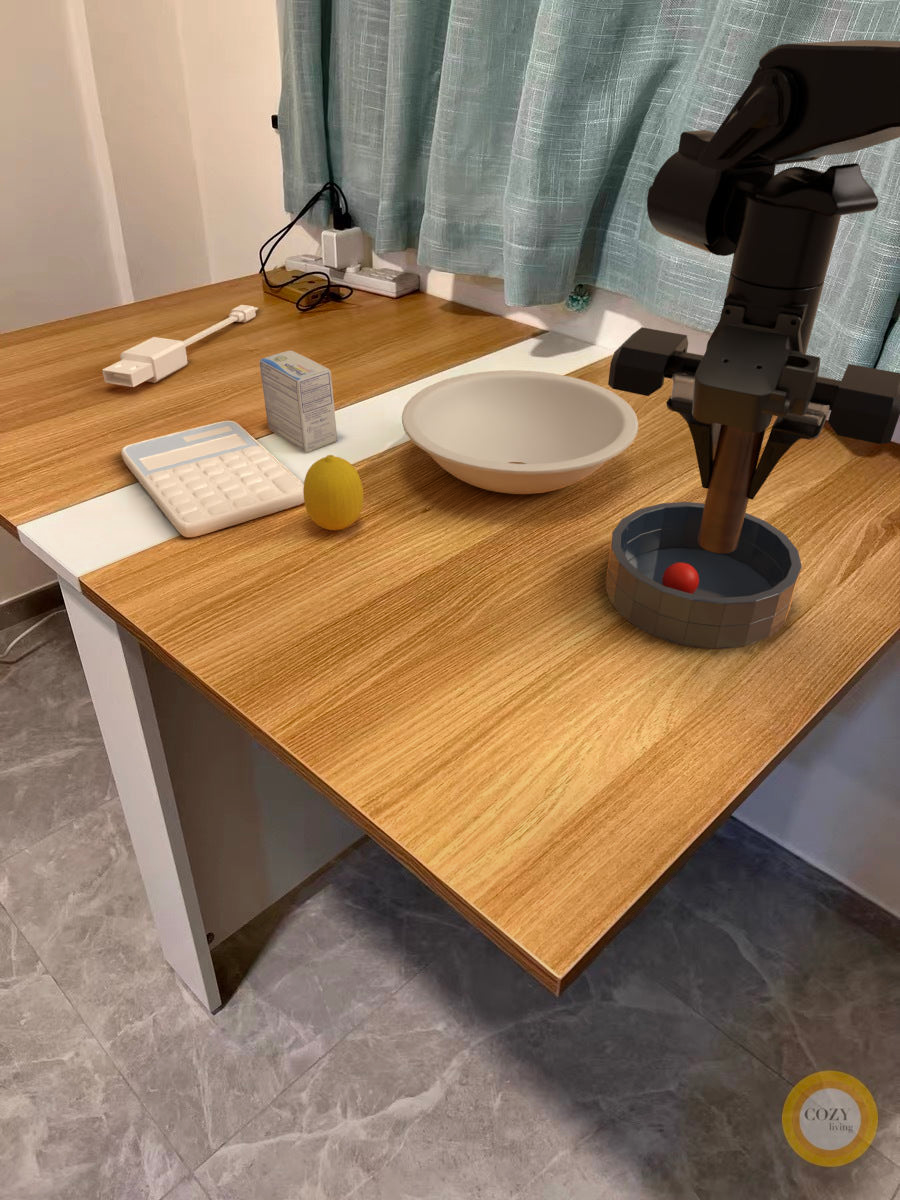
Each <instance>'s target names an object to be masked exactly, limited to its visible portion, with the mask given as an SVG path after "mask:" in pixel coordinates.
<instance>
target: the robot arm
mask: <svg viewBox="0 0 900 1200" xmlns="http://www.w3.org/2000/svg"><path fill="white" fill-rule="evenodd" d="M899 138H900V40H881V39H880V40H879V39H878V40H877V39H875V40H874V39H855V40H853V39H852V40H838V41H837V40H835V41H817V42H814V41H813V42H795V43H782V44H779V45H776V46H774V47H772V48H770V49H768V50H767V51H766V52H765V53H764V54H763V55H762V56H761V57H760V58H759V61H758V67H757V68H756V70H755V71H754V73H753V75H752V78H751V81H750V83H749V84H748V85H747V87H746V89H745V90H744V91H743V92H742V94H741V95H740V97H739V98H738V100H737V101H736V103H735V104H734V106H732V109H731V110H730V111H729V113H728V114H727V116H725V118H724V120H723V121H722V123H721V124H720V126H719V127H718V129H717V130H716V131H711V130H708V129H700V130H698V129H697V130H690V131H689V130H688V131H682V132H681V134H680V137H679V141H678V142H679V143H678V150H677V151H676V152H675V153H673V154H672V155H671V156H670V157H668V158H667V160H665V162H664V163H663V164H662V166H661V167H660V168H659V170H658V171H657V173H656V175H655V177H654V179H653V182H652V185H650V186H649V188H648V191H647V198H646V211H647V216H648V219H649V222H650V224H651V226H652V227H653V228H654V229H655V231H656V232H657V233H659V234H661V235H663V236H666V237H668V238H671V239H673V240H676V241H678V242H681V243H683V244H687V245H689V246H692V247H695V248H697V249H700V250H701V251H705V252H707V253H710V254H713V255H715V256H720V257H726V256H732V255H733V257H732V262H731V266H730V267H731V268H730V272H729V276H728V283H727V288H726V291H725V298H724V301H723V305H722V306H723V307H722V309H721V311H720V316H719V317H720V318H719V321H718V323H717V325H716V326H715V328H714V330H713V332H712V333H711V335H710V337H709V339H708V341H707V344H706V349H705V352H704V354H698V353H693V352H688V347H689V339H688V335H687V334H682V333H678V332H677V333H676V332H672V331H671V332H670V331H666V330H660V329H654V328H648V327H643V326H642V327H640V328H638V329H637V330H636V331H635V332H633V333H632V334H631V335H630V336H629V337H628V338H627V339H626V340H624V342H623V343H622V344H621V345H620V346H618V348H617V349H616V350H615V351H614V352H613V354H612V358H611V361H610V364H609V365H610V366H609V373H608V382H607V385H608V386H609V387H610V388H611V390H616V391H620V392H621V391H622V392H626V393H630V394H636V395H641V396H644V397H649V396H651V395H652V394H654V393H655V392H657V391H658V390H660V389H661V388H663V386H664V384H665V383H664V382H665V379H671V381H672V385H671V386H672V389H671V394H670V396H669V398H668V399H667V401H666V408H667V409H668V410H669V411H671V412H675V413H678V414H679V415H680V416H681V417H682V419H684V421H685V422H686V423H687V425H688V429H689V431H690V434H691V438H692V441H693V445H694V449H695V455H696V461H697V467H698V471H699V476H700V482H701V487H702V488H703V489H706V490H708V486H709V481H710V477H711V472H712V467H713V462H714V457H715V452H716V447H717V442H718V438H719V433H720V428H721V424H722V425H727V426H732V427H736V428H739V429H740V430H741V431H744V432H749V433H758V432H762V431H764V430H765V429H766V430H767V429H768V428H769V427H770V424H771V422H772V419H773V416H775V417H776V418H775V421H774V422H773V425H772V426H771V429H770V432H769V435H768V438H767V441H766V444H765V446H764V448H763V451H762V454H761V456H760V457H759V460H758V463H757V467H756V471H755V473H754V476H753V478H752V481H751V484H750V488H749V493H748V499H749V500H752V501H753V500H754V499H755V497H756V496H757V494H758V493H759V492H760V490H761V488H762V487H763V485H764V484H765V482H766V480H767V479H768V478H769V476H770V475H771V473H772V472H773V470H774V468H775V467H776V466H777V464H778V463H779V461H780V460H781V459H782V458H783V456H784V455H785V454H786V453H787V452H788V451H789V450H790V448H792V447H793V446H794V445H795V444H796V443H797V442H798V441H800V440H807V441H813V440H817V439H818V438H819V437H820V434H821V432H822V430H823V428H824V425H825V423H826V421H827V423H828V424H829V426H830V427H831V429H832V430H833V431H834V433H835V434H836V435H837V436H839V437H844V438H847V439H853V440H858V441H862V442H868V443H873V444H876V445H877V444H878V445H881V444H882V445H883V444H889V443H891V442H892V439H893V435H894V434H895V430H896V427H897V424H898V421H899V418H900V372H897V371H890V370H885V369H880V368H874V367H868V366H863V365H857V364H853V363H847V367H846V369H845V371H844V373H843V375H842V378H841V380H838V379H835V378H830V377H826V376H819V372H820V365H821V358H820V356H816V355H810V354H807V351H808V347H809V344H810V339H811V336H812V332H813V327H814V323H815V320H816V317H817V312H818V308H819V304H820V301H821V296H822V293H823V289H824V288H823V287H824V284H825V280H826V276H827V273H828V270H829V269H828V268H829V263H830V261H831V257H832V253H833V248H834V245H835V242H836V237H837V233H838V229H839V227H840V222H841V218H842V216H845V215H851V214H859V213H865V212H871V211H875V209H877V208H878V206H879V198H878V196H877V194H876V193H875V191H874V189H873V188H872V187H871V185H870V184H869V183H868V182H867V181H866V180H865V178H864V175H863V173H862V170H861V166H860V164H859V163H857V162H852V163H845V164H837V165H831V166H829V167H828V168H827V169H826V170H825V171H821V170H816V169H812V168H808V167H805V166H791V167H787V168H785V169H783V170H780V171H779V172H778V173H775V172H776V166H778V165H779V166H780V165H787V164H796V163H803V162H813V161H816V160H818V159H819V158H822V157H826V156H827V157H828V156H834V155H835V156H837V155H843V154H844V155H845V154H850V153H856V152H859V151H862V150H865V149H868V148H871V147H874V146H877V145H880V144H884V143H887V142H890V141H894V140H896V139H899ZM827 418H828V420H827ZM766 430H765V431H766Z"/></svg>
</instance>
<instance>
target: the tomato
mask: <svg viewBox="0 0 900 1200" xmlns="http://www.w3.org/2000/svg"><path fill="white" fill-rule="evenodd" d="M662 583H663V585H664V586H666V587H669V588H672V589H676V590H679V591H683V592H686V593H690V594H693V593H694V592H695V591H696V589H697V587H698V584H699V576H698V573H697V571H696V570H695V569H694V567H692V566H691V565H689V564H687V563H675V564H672V565H671V566H669V567H668V568H667V569H666V570H665V572H664V574H663V578H662Z"/></svg>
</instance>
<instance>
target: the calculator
mask: <svg viewBox="0 0 900 1200" xmlns="http://www.w3.org/2000/svg"><path fill="white" fill-rule="evenodd" d="M121 457H122V458H121V459H122V460H123V462H124V464H125V465H126V467H127V469H129V470H130V472H131V473H132V475H134V477H135V478H136V479H137V481H138V482H139V484H141V486H142V487H143V488H144V489H145V491H146V492H147V494H148V495H149V496H150V497H151V498H152V500H153V502H155V504H156V505H157V506H158V508H159V509H160V510H161V512H163V514H164V515H165V516H166V517H167V519H168V520H169V521H170V523H171V525H173V526H174V528H175V529H176V530H177V532H178V533H179V534H180V535H181V536H183V537H185V538H196V537H199V536H203V535H207V534H209V533H213V532H216V531H217V532H218V531H219V530H223V529H226V528H230V527H232V526H236V525H239V524H242V523H245V522H248V521H252V520H256V519H259V518H262V517H265V516H268V515H273V514H275V513H279V512H281V511H284V510H288V509H291V508H293V507H294V508H295V507H297V506H300V505H302V504H305V503H304V494H303V488H304V482H302V481H301V480H300V479H299V478H298V477H297V476H296V475H295V474H294V473H293V472H292V471H291V470H290V469H288V468H287V467H286V466H285V464H283V463H282V462H281V461H280V460H278V458H277V457H275V456H274V454H272V453H271V452H270V451H269V450H268V449H267V448H265V447H264V445H262V444H261V443H260V442H259V441H258V440H257V439H255V437H253V435H251V434H250V433H249V431H247V430H246V429H245V428H244V427H243V426H241V425H240V424H239V423H238V422H236V421H234V420H221V421H218V422H213V423H210V424H205V425H201V426H197V427H193V428H189V429H185V430H181V431H177V432H173V433H168V434H165V435H161V436H157V437H153V438H149V439H145V440H141V441H137V442H134V443H130V444H127V445H124V447H122V449H121Z"/></svg>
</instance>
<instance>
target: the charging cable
mask: <svg viewBox="0 0 900 1200" xmlns="http://www.w3.org/2000/svg"><path fill="white" fill-rule="evenodd" d="M258 310H259V307H258V306H257V307H256V306H253V305H248V304H247V305H246V304H240V305H238V306H236V307H234V308H232V309H230V313H229V314H228V317H227V318H226V319H223V320H221V321H220V322H217V323H215V324H213V325H211V326H209V327H207V328H205V329H204V330H201V331H200V332H198V333H196V334H194V335H192V336H190V337H188V338H186V339H184V340H179V339H171V338H164V337H157V336H152V337H150V338H148V339H147V340H145V341H143V342H140V343H138V344H137V345H134V346H132V347H130V348H128V349H126V350H124V351H122V352H121V353H119V357H120V360H119V361H117V362H114V363H113V364H111V365H109V366H107V367H104V368H103V369H101V370H102V371H101V372H102V377H103V380H104V383H105V384H112V385H116V386H117V385H118V386H123V387H130V388H134V387H136V386H138V385H140V384H142V383H144V382H149V383H157V382H159V381H161V380H163V379H165V378H167V377H168V376H171V375H172V374H174V373H175V372H177V371H179V370H181V369H183V368H185V367H186V366H187V365H188V364H189V362H188V356H187V350H186V349H187V347H189V346H190V345H192V344H194V343H196V342H198V341H199V340H202V339H204V338H206V337H207V336H209V335H211V334H213V333H216V332H217V331H219V330H221V329H222V328H225V327H226V326H228V325H230V324H232V323H234V322H236V323H247V322H249V321H250V320H252V319H255V318H256V316H257V313H256V311H258Z"/></svg>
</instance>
